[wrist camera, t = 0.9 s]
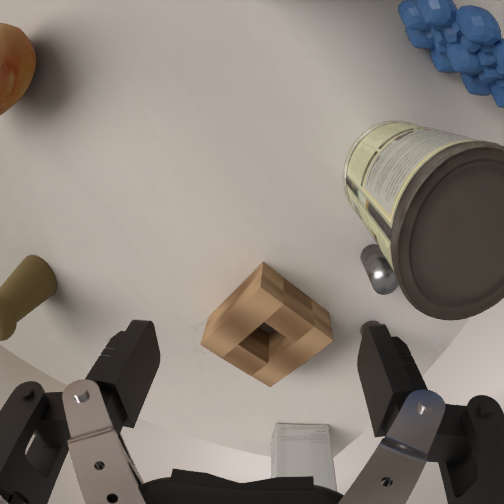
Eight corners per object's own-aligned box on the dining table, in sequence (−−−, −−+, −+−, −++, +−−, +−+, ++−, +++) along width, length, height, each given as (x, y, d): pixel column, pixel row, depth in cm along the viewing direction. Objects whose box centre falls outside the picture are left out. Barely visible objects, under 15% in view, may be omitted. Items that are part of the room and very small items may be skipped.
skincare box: (271, 440, 45) (266, 522, 32) (276, 420, 42) (271, 511, 29) (323, 442, 45) (327, 523, 31) (332, 422, 42) (339, 511, 29)
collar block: (263, 261, 31) (260, 287, 27) (328, 312, 33) (333, 340, 29) (208, 316, 35) (200, 344, 31) (271, 358, 37) (270, 386, 33)
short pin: (373, 239, 29) (388, 264, 25) (388, 254, 30) (404, 281, 25) (355, 256, 30) (367, 284, 26) (371, 271, 31) (384, 299, 26)
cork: (64, 289, 35) (15, 345, 25) (39, 301, 37) (-6, 352, 27) (38, 248, 33) (-19, 296, 23) (15, 264, 34) (-36, 310, 24)
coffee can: (462, 160, 25) (562, 212, 12) (408, 247, 29) (472, 341, 17) (378, 96, 24) (465, 99, 11) (321, 196, 28) (354, 278, 15)
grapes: (496, 72, 20) (581, 76, 10) (465, 118, 23) (551, 140, 12) (408, -15, 18) (473, -61, 8) (371, 31, 21) (431, -8, 10)
